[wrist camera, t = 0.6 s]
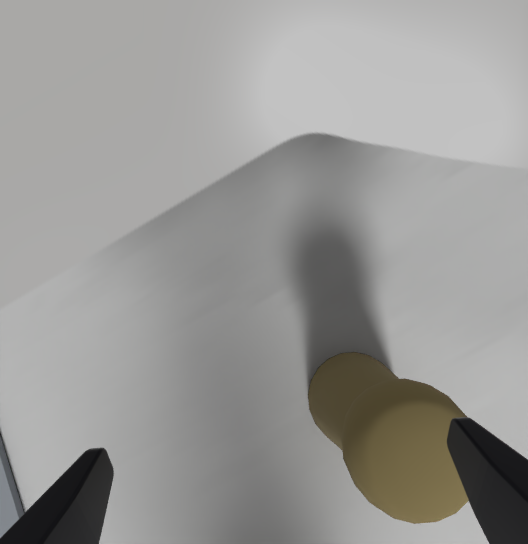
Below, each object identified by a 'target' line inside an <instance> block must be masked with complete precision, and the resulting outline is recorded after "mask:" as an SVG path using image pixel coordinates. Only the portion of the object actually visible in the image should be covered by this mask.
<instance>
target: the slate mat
mask: <svg viewBox="0 0 528 544" xmlns="http://www.w3.org/2000/svg"><path fill="white" fill-rule="evenodd" d="M23 514H24V511H23V508H22V505H21V502H20V498H19V495H18V492H17V489H16V485H15V482H14V479H13V475H12V472H11V469H10V466H9V462H8V459H7V456H6V453H5V449H4V446H3V443H2V440H1V436H0V538H1V537H2V536H3V535H4V534H5V533H6V532H7V531H8V530H9V529H10V528H11V526H12V525H13V524H14V523H15V522H16V521H17V520H18V519H19V518H20V517H21V516H22V515H23Z"/></svg>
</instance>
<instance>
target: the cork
mask: <svg viewBox="0 0 528 544" xmlns="http://www.w3.org/2000/svg"><path fill="white" fill-rule="evenodd" d="M308 399H309V409H310V412H311V414H312V417H313V419H314V421H315V424H316V425H317V426H318V427H319V428H320V430H321V431H322V432H323V433H324V434H325V435H326V436H327V437H328V438H329V439H330V440H331V441H332V442H334V443H335V444H336V445H337V446H338V447H339V448H340V449H341V450H343V459H344V461H345V464H346V466H347V468H348V471H349V473H350V475H351V478H352V480H353V482H354V484H355V486H356V487H357V488H358V489H359V490H360V492H361V493H362V494H363V495H364V496H365V497H366V499H367V500H368V501H369V502H370V503H371V504H373V505H374V506H376V507H377V508H379V509H380V510H382V511H383V512H385V513H386V514H388V515H390V516H391V517H393V518H395V519H399V520H402V521H406V522H410V523H414V524H416V523H428V522H437V521H440V520H442V519H444V518H446V517H449V516H451V515H453V514H455V513H457V512H458V511H459V510H460V509H461V508H462V507H463V506H464V505H465V504H466V503H467V502H468V501H469V500H468V497H467V495H466V492H465V490H464V487H463V485H462V482H461V480H460V477H459V475H458V472H457V470H456V467H455V465H454V462H453V460H452V457H451V455H450V452H449V450H448V446H447V436H448V431H449V426H450V422H451V420H452V419H453V418H460V417H467V416H466V415H465V414H464V413H463V412H462V411H461V410H460V409H459V408H458V406H457V405H456V404H455V403H454V402H453V401H452V400H451V399H450V398H449V397H448V396H447V395H445V394H444V393H442V392H440V391H439V390H437V389H435V388H434V387H432V386H430V385H427V384H425V383H421V382H417V381H412V380H408V379H399V378H398V377H397V376H395V375H394V374H393V373H392V372H391V371H390V370H389V369H388V368H387V367H385V366H384V365H383V364H382V363H381V362H379V361H377V360H376V359H374V358H372V357H371V356H369V355H365V354H361V353H357V352H351V353H341V354H339V355H336V356H334V357H332V358H329V359H328V360H327V361H326V362H324V363H323V364H322V365H321V366H320V367H319V368H318V369H317V371H316V373H315V375H314V376H313V378H312V380H311V383H310V388H309V393H308Z"/></svg>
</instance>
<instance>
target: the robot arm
mask: <svg viewBox="0 0 528 544" xmlns="http://www.w3.org/2000/svg"><path fill="white" fill-rule="evenodd" d="M447 446H448V450H449V452H450V455H451V457H452V460H453V462H454V465H455V467H456V470H457V472H458V475H459V477H460V480H461V482H462V485H463V487H464V490H465V492H466V495H467V497H468V500H469V502H470V505H471V507H472V509H473V512H474V514H475V516H476V518H477V520H478V522H479V524H480V526H481V528H482V530H483V532H484V534H485V536H486V538H487V540H488V542H489V544H528V459H526V458H525V457H523V456H522V455H521V454H519V453H518V452H516V451H515V450H514V449H512V448H511V447H510V446H508V445H507V444H505V443H504V442H503V441H501V440H500V439H499V438H497V437H496V436H494V435H493V434H492V433H490V432H489V431H487V430H486V429H485V428H483V427H482V426H481V425H479V424H478V423H476V422H475V421H474V420H472V419H471V418H468V417H460V418H453V419H452V420H451V422H450V426H449V431H448V436H447ZM113 475H114V470H113V466H112V464H111V461H110V459H109V456H108V454H107V451H106V450H105V449H104V448H93V449H88V450H87V451H85V452H84V453H83V454H82V455H81V456H80V457H79V458H78V459H77V460H76V461H75V462H74V463H73V464H72V466H71V467H70V468H69V469H68V470H67V471H66V472H65V473H64V474H63V475H62V476H61V477H60V478H59V479H58V480H57V481H56V482H55V483H54V484H53V485H52V486H51V487H50V488H49V489H48V490H47V491H46V492H45V493H44V494H43V495H42V496H41V497H40V498H39V499H38V500H37V501H36V502H35V503H34V504H33V505H32V506H31V507H30V508H29V509H28V510H27V511H26V512H25V513H24V514H23V515H22V516H21V517H20V518H19V519H18V520H17V521H16V522H15V523H14V524H13V525H12V526H11V528H10V529H9V530H8V531H7V532H6V533H5V534H4V535H3V536H2V537H1V538H0V544H99V540H100V536H101V532H102V527H103V523H104V518H105V513H106V509H107V504H108V500H109V495H110V490H111V486H112V481H113Z"/></svg>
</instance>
